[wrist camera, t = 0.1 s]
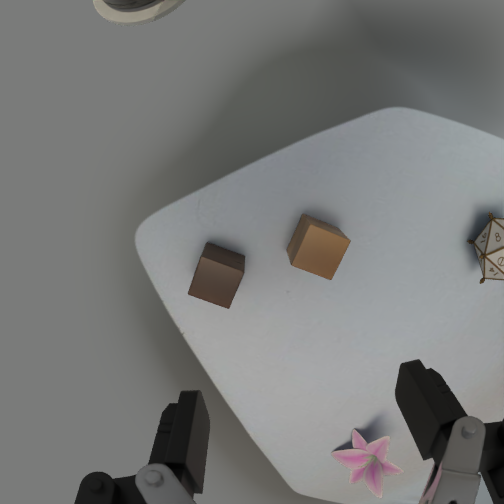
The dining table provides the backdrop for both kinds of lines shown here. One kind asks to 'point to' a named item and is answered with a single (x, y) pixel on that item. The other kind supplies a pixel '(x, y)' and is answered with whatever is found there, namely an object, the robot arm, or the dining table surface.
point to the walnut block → (217, 275)
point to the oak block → (317, 247)
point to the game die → (491, 249)
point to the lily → (368, 462)
